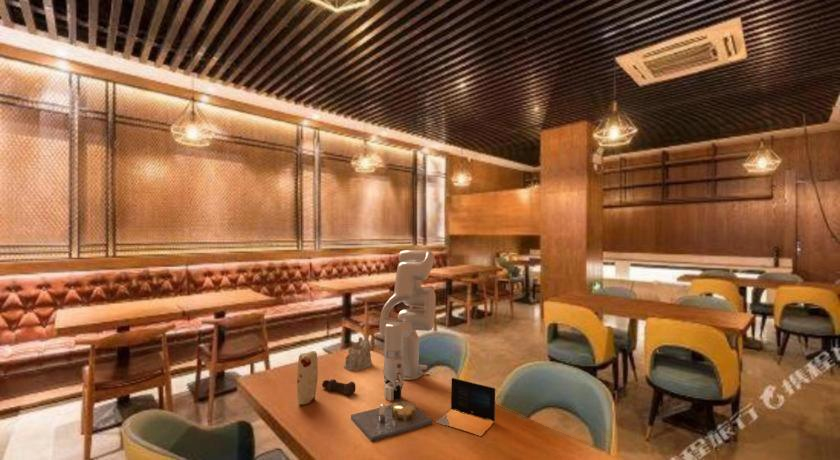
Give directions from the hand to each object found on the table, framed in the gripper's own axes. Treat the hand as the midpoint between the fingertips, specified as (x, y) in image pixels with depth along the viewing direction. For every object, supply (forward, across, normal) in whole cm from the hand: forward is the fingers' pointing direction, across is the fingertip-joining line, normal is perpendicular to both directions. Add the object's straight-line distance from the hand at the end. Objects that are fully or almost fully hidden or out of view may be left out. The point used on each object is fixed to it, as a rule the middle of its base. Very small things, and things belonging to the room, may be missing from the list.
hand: (392, 395), depth 164 cm
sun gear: (-1, -18, +5) cm, 19 cm away
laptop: (+1, -32, -13) cm, 35 cm away
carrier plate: (+1, -18, +10) cm, 21 cm away
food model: (+1, +13, +32) cm, 35 cm away
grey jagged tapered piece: (+1, +45, -2) cm, 45 cm away
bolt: (+1, +17, +18) cm, 25 cm away
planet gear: (+1, 0, 0) cm, 1 cm away
